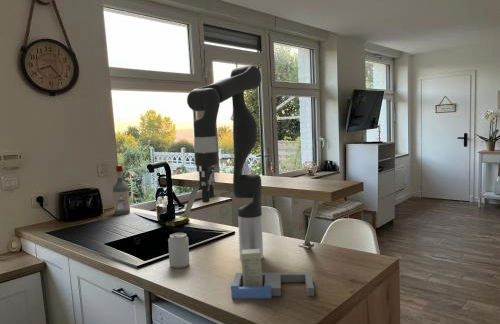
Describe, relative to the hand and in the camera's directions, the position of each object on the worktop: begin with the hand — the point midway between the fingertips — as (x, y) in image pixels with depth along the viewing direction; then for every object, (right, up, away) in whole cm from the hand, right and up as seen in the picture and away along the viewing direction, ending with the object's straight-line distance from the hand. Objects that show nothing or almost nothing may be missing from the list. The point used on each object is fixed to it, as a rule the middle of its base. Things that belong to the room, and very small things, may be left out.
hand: (208, 199), depth 123 cm
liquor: (-66, -20, +110) cm, 130 cm away
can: (-13, -27, +19) cm, 35 cm away
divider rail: (+21, -28, -4) cm, 35 cm away
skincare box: (+15, -28, -3) cm, 32 cm away
